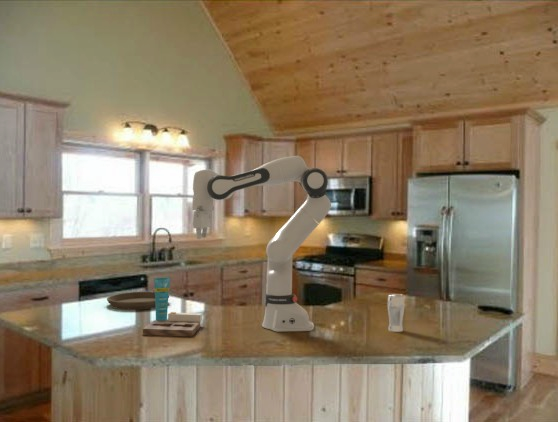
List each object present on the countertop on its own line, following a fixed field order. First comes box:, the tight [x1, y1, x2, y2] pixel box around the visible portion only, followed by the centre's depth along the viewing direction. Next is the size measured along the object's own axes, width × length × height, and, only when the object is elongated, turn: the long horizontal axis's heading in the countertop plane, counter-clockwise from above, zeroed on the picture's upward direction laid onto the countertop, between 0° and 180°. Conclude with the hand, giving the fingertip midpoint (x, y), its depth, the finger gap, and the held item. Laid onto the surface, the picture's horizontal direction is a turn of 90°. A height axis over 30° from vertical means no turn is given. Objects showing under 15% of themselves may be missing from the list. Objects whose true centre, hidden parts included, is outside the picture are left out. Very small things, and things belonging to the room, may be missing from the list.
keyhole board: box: [142, 319, 201, 337], centre depth 195 cm, size 20×14×2 cm
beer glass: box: [387, 293, 405, 333], centre depth 202 cm, size 7×7×15 cm
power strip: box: [167, 311, 203, 323], centre depth 204 cm, size 14×3×6 cm, turn 87°
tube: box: [153, 276, 171, 321], centre depth 214 cm, size 7×5×19 cm, turn 123°
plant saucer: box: [106, 291, 170, 311], centre depth 246 cm, size 31×31×5 cm
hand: (201, 238), depth 206 cm, fingers open, 8 cm apart
